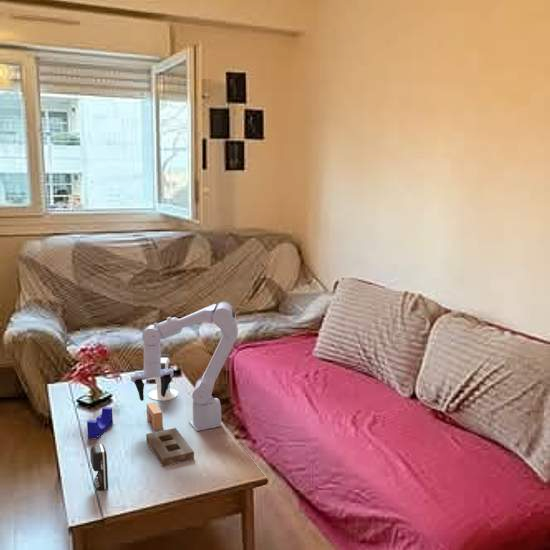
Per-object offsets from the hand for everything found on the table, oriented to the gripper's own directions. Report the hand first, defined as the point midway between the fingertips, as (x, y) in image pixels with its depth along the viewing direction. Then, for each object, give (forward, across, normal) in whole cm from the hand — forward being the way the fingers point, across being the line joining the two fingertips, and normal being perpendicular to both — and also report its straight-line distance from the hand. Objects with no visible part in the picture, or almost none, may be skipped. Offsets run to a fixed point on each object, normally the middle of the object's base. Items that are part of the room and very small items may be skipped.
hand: (152, 397), depth 205 cm
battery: (+10, +26, +30) cm, 41 cm away
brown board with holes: (+10, +1, +20) cm, 22 cm away
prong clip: (+10, -1, 0) cm, 10 cm away
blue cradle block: (+11, +18, -4) cm, 21 cm away
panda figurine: (+10, -12, -22) cm, 27 cm away
